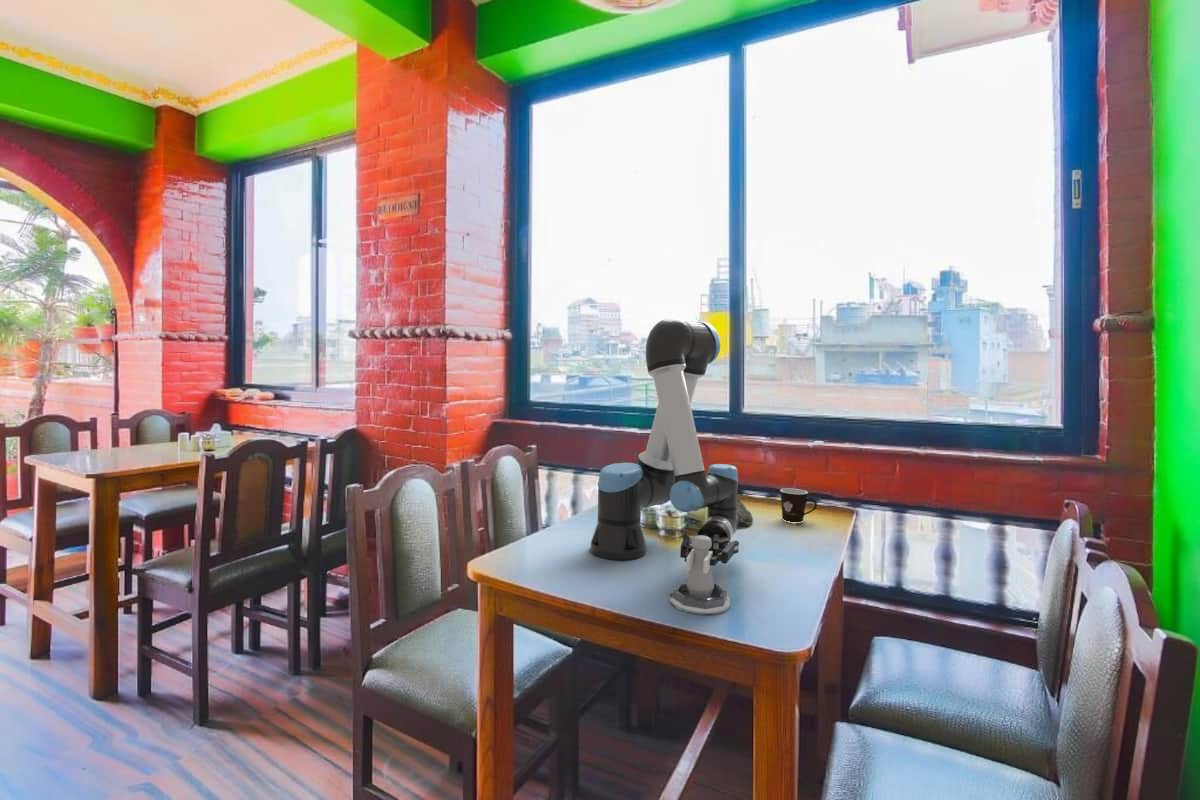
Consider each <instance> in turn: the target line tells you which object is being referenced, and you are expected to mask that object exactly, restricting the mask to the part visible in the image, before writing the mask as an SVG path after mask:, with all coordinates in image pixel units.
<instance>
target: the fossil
mask: <svg viewBox="0 0 1200 800" xmlns="http://www.w3.org/2000/svg"><path fill="white" fill-rule="evenodd" d="M737 518H738V525H741V526H743V527H749V526H751V525H752V523H754V522H753V521H754V520H753V519H754V518H753V515H752V513H751V511H750V510H748V509H747V507H746V506H745V504H743V502H742V501H741V500H740V499H739V498H738V497H737Z"/></svg>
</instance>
